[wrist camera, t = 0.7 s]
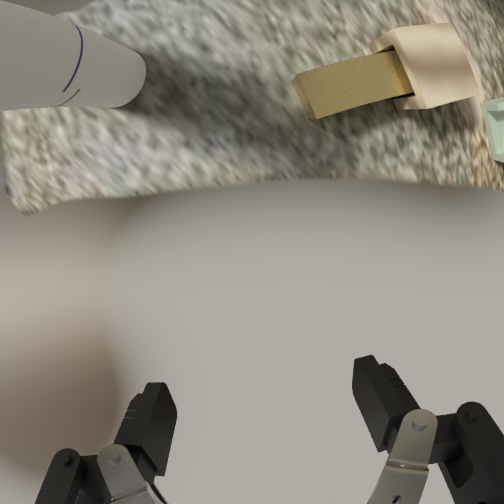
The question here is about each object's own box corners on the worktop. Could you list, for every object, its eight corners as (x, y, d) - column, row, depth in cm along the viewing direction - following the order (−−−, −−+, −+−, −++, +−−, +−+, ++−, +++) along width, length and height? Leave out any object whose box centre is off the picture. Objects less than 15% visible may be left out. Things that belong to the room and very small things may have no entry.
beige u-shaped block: (367, 44, 22) (393, 28, 16) (420, 35, 20) (451, 22, 14) (396, 109, 25) (427, 108, 19) (446, 95, 23) (480, 94, 17)
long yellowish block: (291, 81, 25) (297, 74, 21) (427, 50, 21) (447, 44, 17) (308, 120, 26) (316, 119, 22) (440, 84, 23) (462, 83, 19)
